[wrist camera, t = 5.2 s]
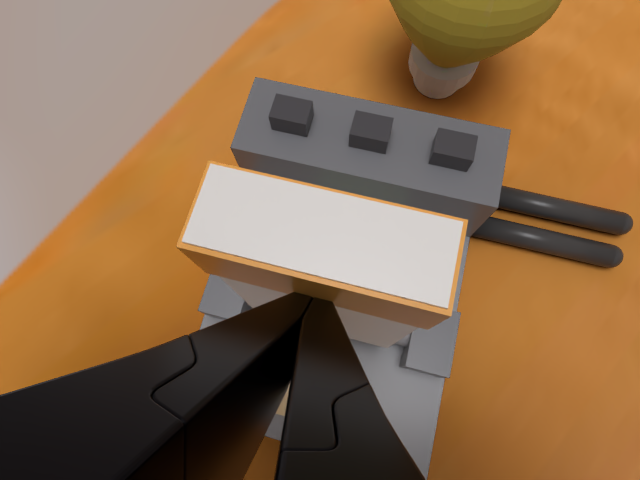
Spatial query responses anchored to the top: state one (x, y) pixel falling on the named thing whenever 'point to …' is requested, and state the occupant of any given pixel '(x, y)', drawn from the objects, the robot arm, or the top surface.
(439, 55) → the light bulb
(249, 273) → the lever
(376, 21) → the top surface
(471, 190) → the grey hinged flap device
